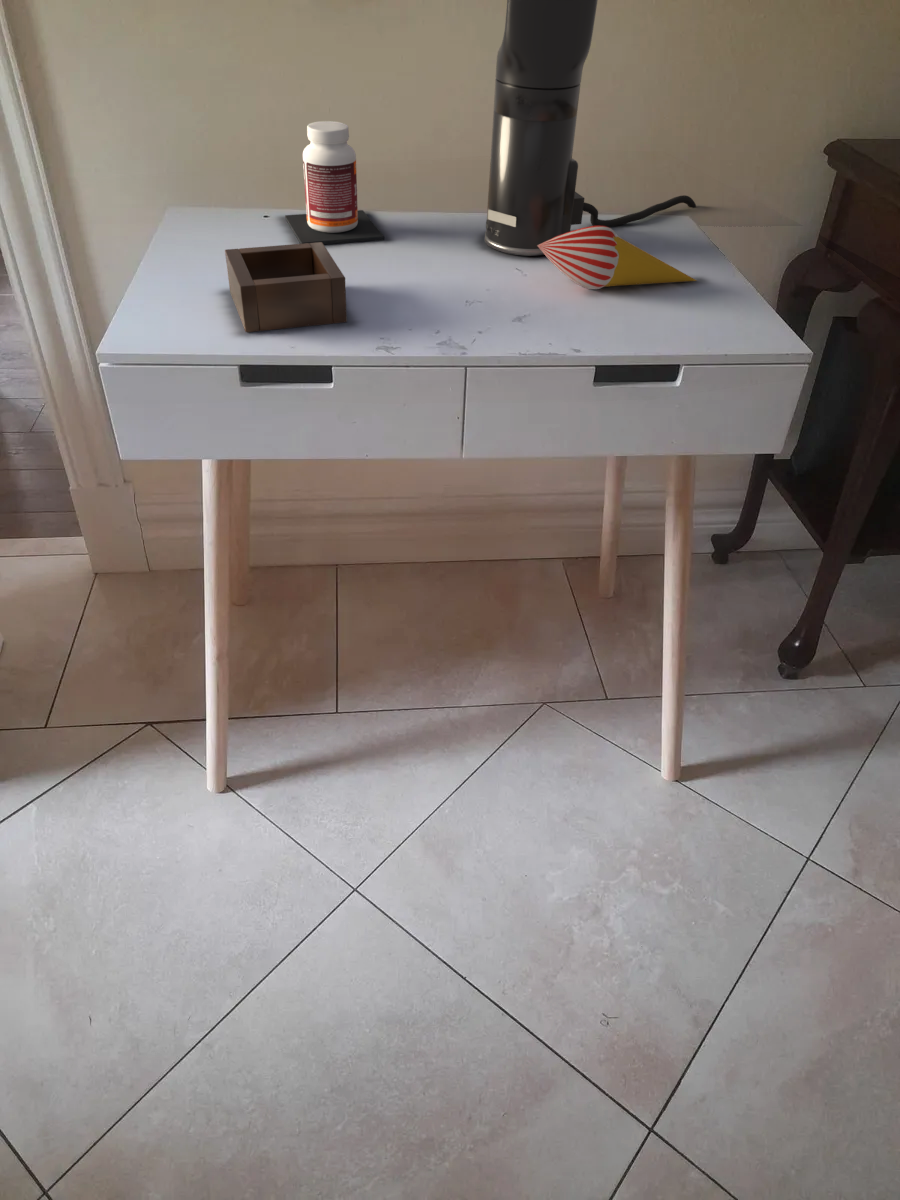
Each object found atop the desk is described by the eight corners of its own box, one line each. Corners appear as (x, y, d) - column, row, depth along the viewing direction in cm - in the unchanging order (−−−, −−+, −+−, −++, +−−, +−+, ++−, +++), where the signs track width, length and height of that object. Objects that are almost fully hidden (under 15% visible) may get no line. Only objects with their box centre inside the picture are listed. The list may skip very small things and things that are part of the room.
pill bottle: (367, 229, 107) (365, 129, 100) (322, 237, 105) (316, 135, 97) (343, 214, 111) (339, 117, 104) (298, 222, 108) (291, 122, 101)
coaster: (363, 213, 113) (362, 209, 113) (384, 239, 106) (384, 236, 106) (285, 218, 111) (284, 215, 110) (301, 246, 103) (301, 242, 103)
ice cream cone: (684, 321, 102) (526, 290, 95) (677, 274, 104) (522, 240, 97) (717, 289, 96) (552, 253, 89) (710, 240, 98) (548, 201, 91)
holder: (324, 284, 95) (322, 241, 92) (347, 322, 88) (345, 277, 85) (230, 293, 92) (224, 249, 89) (245, 332, 85) (240, 286, 82)
